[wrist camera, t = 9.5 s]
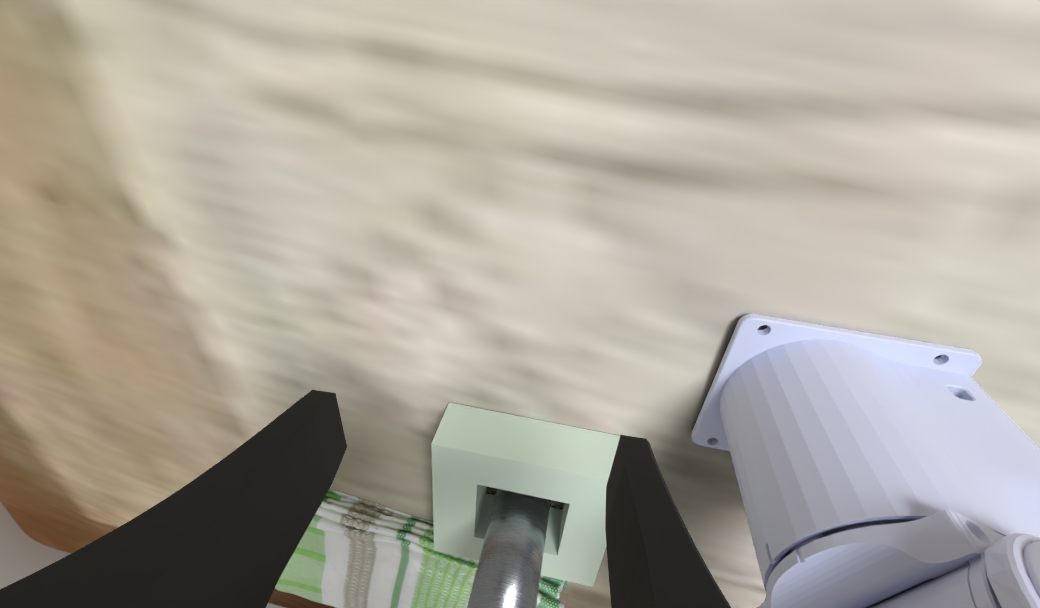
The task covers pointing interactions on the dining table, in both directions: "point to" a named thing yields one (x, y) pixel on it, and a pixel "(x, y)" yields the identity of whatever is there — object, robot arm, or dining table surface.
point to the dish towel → (382, 561)
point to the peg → (511, 553)
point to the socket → (522, 484)
